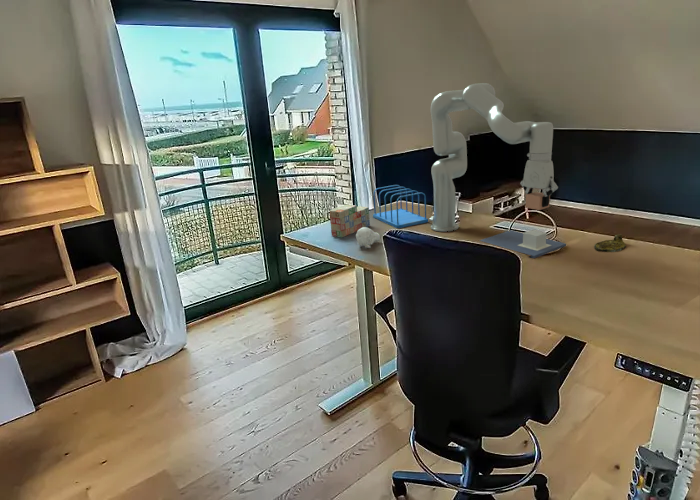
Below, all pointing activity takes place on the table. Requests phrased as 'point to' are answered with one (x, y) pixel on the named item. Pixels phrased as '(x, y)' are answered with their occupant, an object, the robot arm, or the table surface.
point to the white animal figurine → (366, 237)
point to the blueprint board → (515, 243)
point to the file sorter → (400, 210)
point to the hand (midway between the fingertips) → (537, 204)
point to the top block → (535, 201)
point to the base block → (534, 239)
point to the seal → (611, 244)
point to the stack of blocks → (348, 219)
